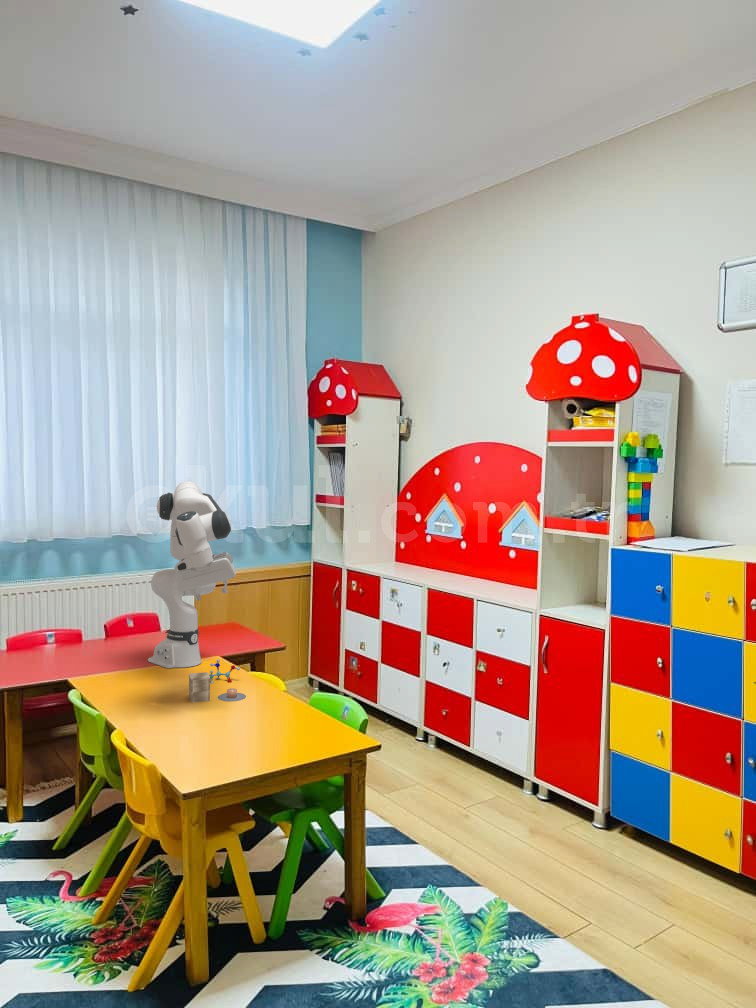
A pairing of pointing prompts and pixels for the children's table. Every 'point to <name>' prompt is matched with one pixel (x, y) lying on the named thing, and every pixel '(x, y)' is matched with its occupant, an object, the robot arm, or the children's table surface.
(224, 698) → the coaster
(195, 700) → the beige upright block
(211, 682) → the molecular model
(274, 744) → the children's table surface
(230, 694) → the pinkish-brown rounded lump
